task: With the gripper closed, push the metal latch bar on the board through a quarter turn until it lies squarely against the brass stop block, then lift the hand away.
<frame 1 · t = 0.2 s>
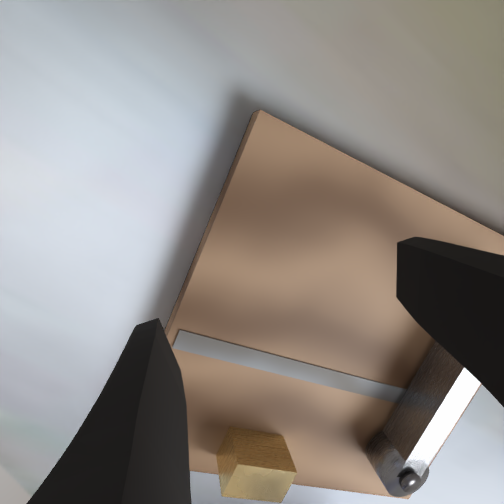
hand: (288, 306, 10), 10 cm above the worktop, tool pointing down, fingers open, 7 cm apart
swing bar: (442, 391, 22), point 4 cm above the worktop, hinge at 0.0°
latch board: (343, 343, 24), on the worktop
brass stop: (250, 445, 23), resting on latch board
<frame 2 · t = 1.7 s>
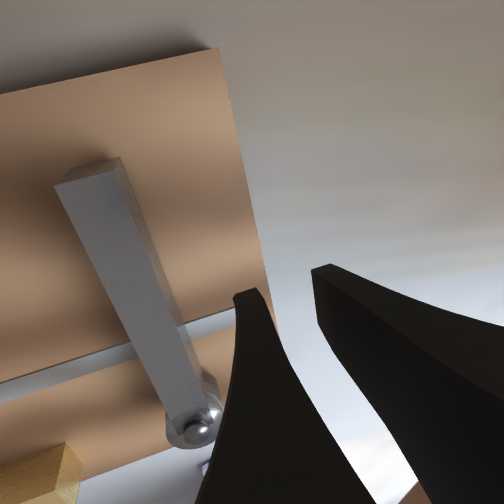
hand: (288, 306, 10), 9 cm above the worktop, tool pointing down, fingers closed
swing bar: (158, 329, 16), point 4 cm above the worktop, hinge at 0.0°
latch board: (50, 327, 18), on the worktop
brass stop: (41, 465, 21), resting on latch board
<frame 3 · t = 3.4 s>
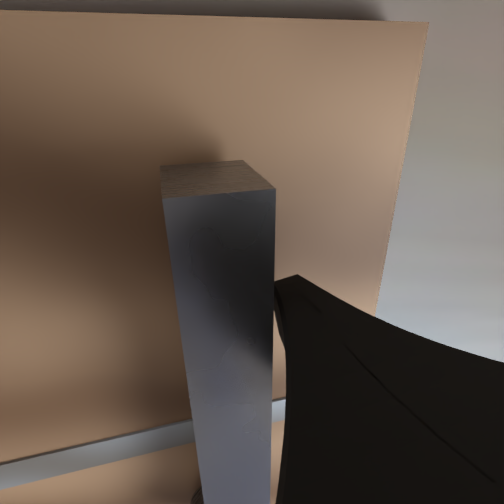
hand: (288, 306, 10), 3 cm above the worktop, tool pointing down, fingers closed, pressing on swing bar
swing bar: (228, 431, 10), point 3 cm above the worktop, hinge at 0.1°, touching gripper
latch board: (45, 388, 12), on the worktop
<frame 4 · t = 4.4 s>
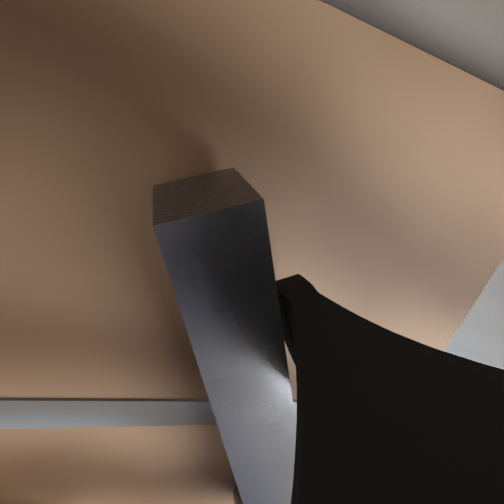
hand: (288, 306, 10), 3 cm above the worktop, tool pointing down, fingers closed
swing bar: (257, 429, 11), point 3 cm above the worktop, hinge at 26.5°, touching gripper
latch board: (153, 337, 12), on the worktop
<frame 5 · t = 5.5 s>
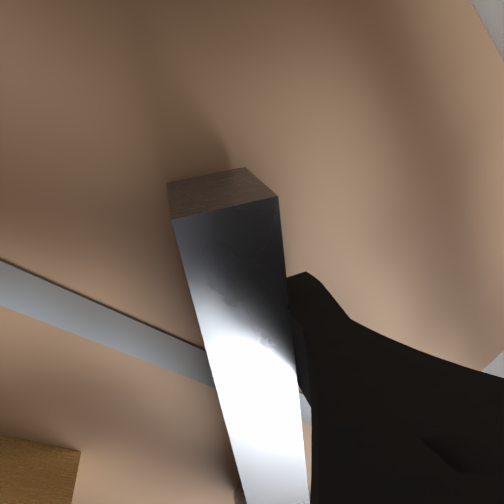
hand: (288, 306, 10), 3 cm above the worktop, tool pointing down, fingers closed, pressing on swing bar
swing bar: (261, 426, 11), point 4 cm above the worktop, hinge at 47.9°, touching gripper
latch board: (238, 303, 13), on the worktop
brass stop: (3, 461, 11), resting on latch board
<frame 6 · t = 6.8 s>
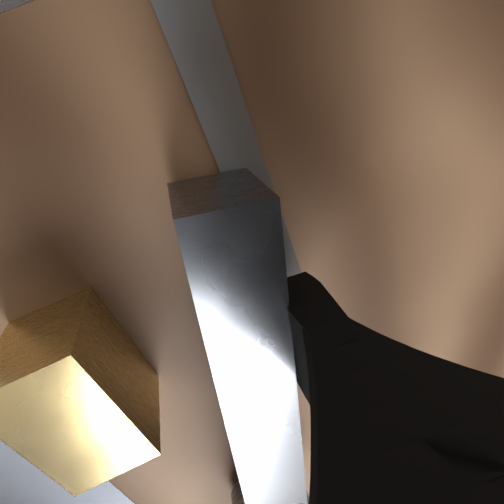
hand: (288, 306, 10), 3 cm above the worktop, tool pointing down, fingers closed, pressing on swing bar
swing bar: (259, 427, 11), point 3 cm above the worktop, hinge at 77.5°, touching gripper
latch board: (338, 304, 14), on the worktop
brass stop: (91, 351, 10), resting on latch board
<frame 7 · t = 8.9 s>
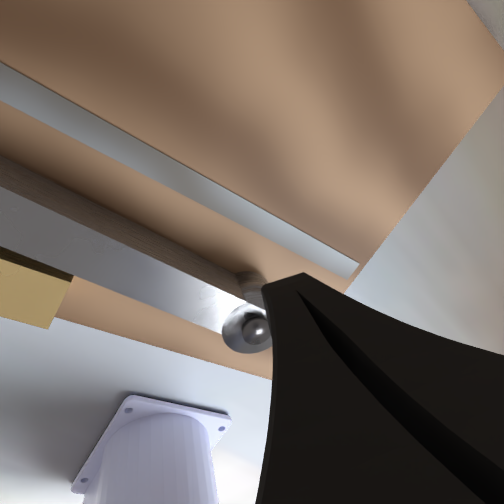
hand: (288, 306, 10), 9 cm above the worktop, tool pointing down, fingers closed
swing bar: (133, 261, 14), point 4 cm above the worktop, hinge at 86.9°
latch board: (194, 131, 16), on the worktop
brass stop: (26, 255, 15), resting on latch board
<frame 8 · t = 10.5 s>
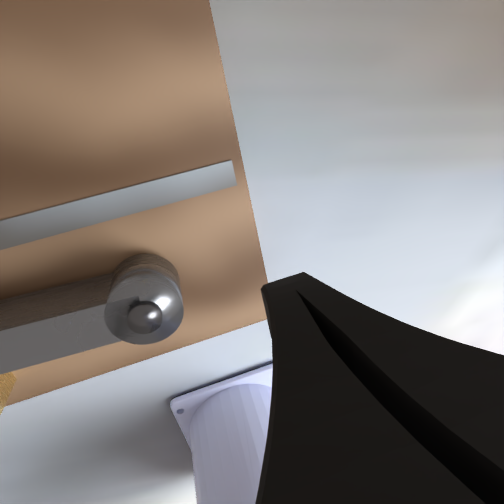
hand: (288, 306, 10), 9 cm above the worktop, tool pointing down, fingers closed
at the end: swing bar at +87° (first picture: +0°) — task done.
